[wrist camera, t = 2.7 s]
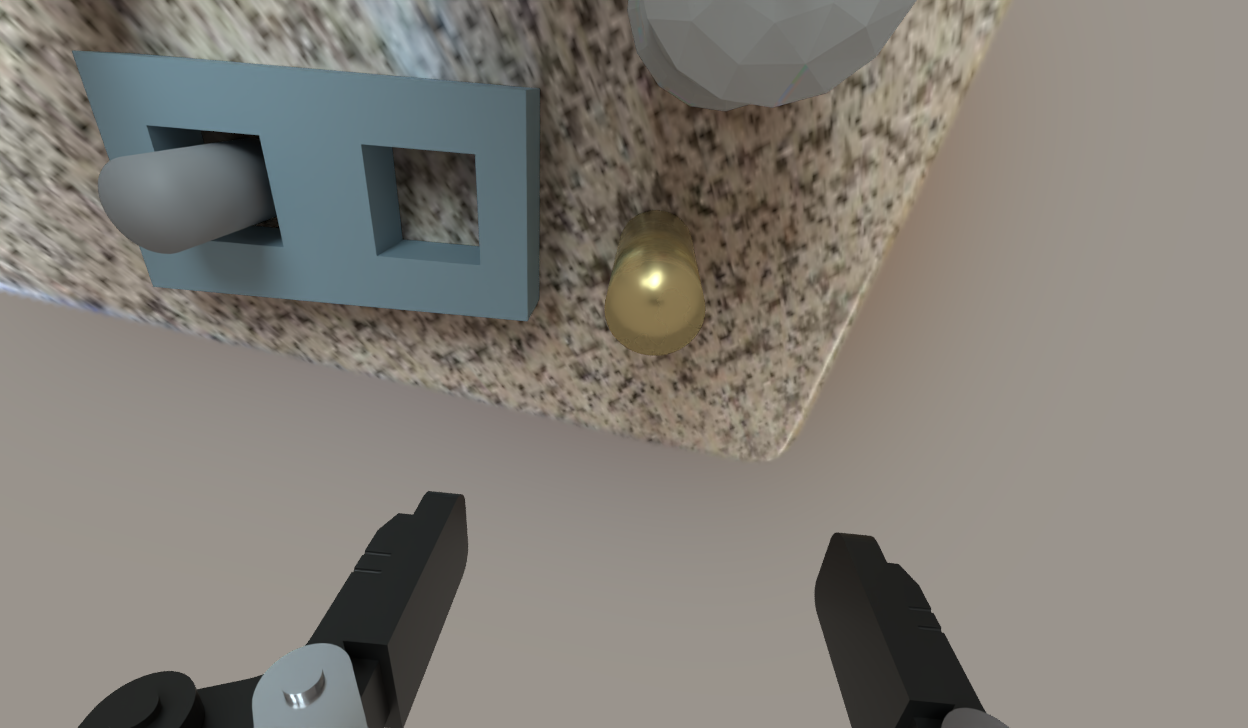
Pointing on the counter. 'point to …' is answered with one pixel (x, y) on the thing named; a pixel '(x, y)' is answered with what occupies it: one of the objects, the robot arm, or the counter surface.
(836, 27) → the french press
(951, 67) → the counter surface
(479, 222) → the jig
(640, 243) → the gold cylinder
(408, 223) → the counter surface
